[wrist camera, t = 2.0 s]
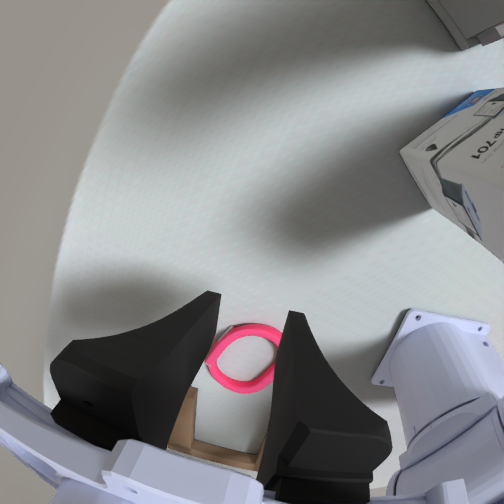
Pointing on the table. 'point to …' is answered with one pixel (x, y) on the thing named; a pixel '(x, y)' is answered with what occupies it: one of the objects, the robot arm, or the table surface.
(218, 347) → the fitness band
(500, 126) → the ink box
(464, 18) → the tall grey pillar
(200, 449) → the notched board
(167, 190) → the table surface
